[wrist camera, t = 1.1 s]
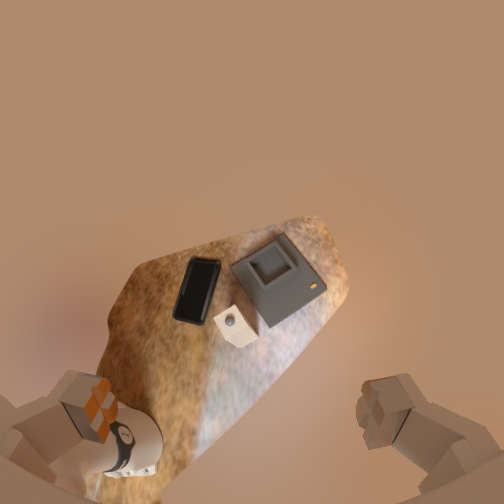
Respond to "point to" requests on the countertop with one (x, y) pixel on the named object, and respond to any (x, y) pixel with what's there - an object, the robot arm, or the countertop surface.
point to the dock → (278, 280)
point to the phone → (196, 291)
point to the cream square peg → (235, 327)
